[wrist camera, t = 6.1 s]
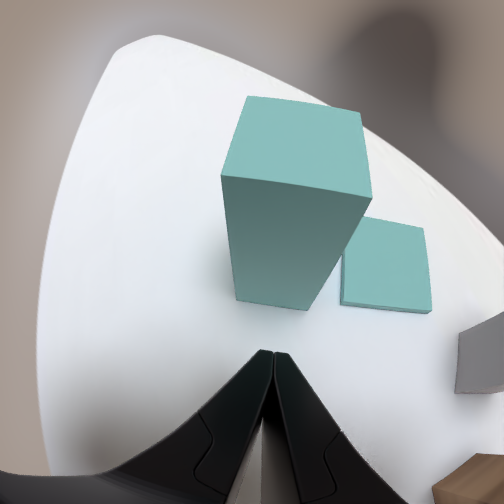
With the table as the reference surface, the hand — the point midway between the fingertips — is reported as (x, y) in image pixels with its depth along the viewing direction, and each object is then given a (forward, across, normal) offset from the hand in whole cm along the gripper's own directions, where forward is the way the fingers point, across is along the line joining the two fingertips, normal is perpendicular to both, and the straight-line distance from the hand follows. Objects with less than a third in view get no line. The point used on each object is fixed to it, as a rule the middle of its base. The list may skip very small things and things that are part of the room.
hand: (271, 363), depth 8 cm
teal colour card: (+10, -7, 0) cm, 12 cm away
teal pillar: (+9, 0, +1) cm, 9 cm away
